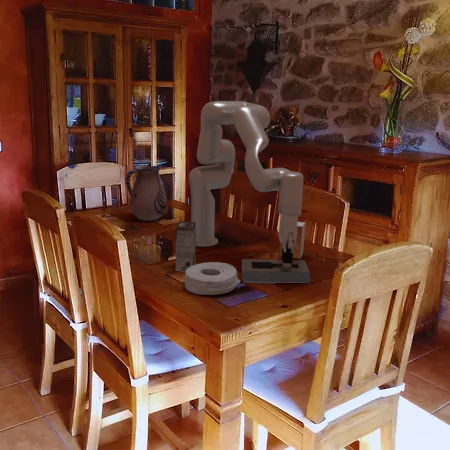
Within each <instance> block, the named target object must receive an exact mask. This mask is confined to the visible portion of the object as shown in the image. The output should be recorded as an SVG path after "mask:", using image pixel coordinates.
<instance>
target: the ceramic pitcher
mask: <svg viewBox="0 0 450 450" xmlns="http://www.w3.org/2000/svg"><path fill="white" fill-rule="evenodd" d="M160 169H161V168H160V166H158V165H152V166H149V165H147V164H146V165H137V166H134V167H133V168H132V169H130V170H129V171H127V174H126V176H125V184H126V188H127V191H128V194H129V195H130V197H129V209H130V212H131V213H132V215H133V216H134V217H135V218H136V219H137V220H139V221H143V222H150V221H157V220H159V219H160V218H161V217H163V215H164V214H165V212H166V211H167V207H168V205H167V204H168V199H167V195H166V190H165V187H164V183H163V180H162V179H161V176H160ZM134 174H136V177H135V179H134V182H133V186H132V184H131V178H132V175H134Z"/></svg>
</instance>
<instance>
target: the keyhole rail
mask: <svg viewBox="0 0 450 450" xmlns="http://www.w3.org/2000/svg"><path fill="white" fill-rule="evenodd" d="M282 266H283V260H282V259H259V258H258V259H257V258H256V259H253V258H252V259H251V258H242V260H241V274H242V283H243V284H275V283H309V284H310V281H311V280H310V278H311V271H310V270H309V267H308V265H307V263H306V261H305V260H300V259H299V260H298V259H293V260H292V264H291V268H282Z"/></svg>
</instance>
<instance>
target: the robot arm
mask: <svg viewBox="0 0 450 450" xmlns="http://www.w3.org/2000/svg"><path fill="white" fill-rule="evenodd" d="M270 122H271V115H270V112H269V111H268V109H267V108H266V106H264V105H260V104H256V103H253V102H252V103H251V102H248V101H241V100H236V101H235V100H230V101H229V100H217V101H210V102H208V103H206V104H205V105H204V106H203V107H202V109H201V113H200V131H199V139H198V144H197V150H196V159H197V161H198V163H199V164H201V165H203V166H196V167H194V168H193V169H192V170H190V172H189V175H188V183H189V189H190V201H191V203H190V204H191V205H190V207H191V209H190V210H191V211H190V212H191V213H190V220H191V221H190V222H196V225H195V227H196V228H195V229H196V231H195V247H198V248H199V247H200V248H205V247H212V246H216V245H217V244H218V242H219V239H218V238H216V237H215V214H216V213H215V212H216V203H215V202H216V200H215V198H214V195H213V194H212V191H211V190H215V189H223V188H225V187H227V186H228V185H230V181H231V179H232V174H233V169H234V165H235V159H236V148H235V145H234V144H233V142H232V141H231V140H230V139H229V140H228V139H225V138H223V128H222V126H223V125H234V127H235V129H236V132H237V133H238V135H239V137H240V139H241V142H242V143H243V146H244V147H245V149H246V152H245V156H244V170H245V172H246V175H247V177H248V179H249V182H250V183H251V185H252V186H253V188H254V189H255V190H256V191H258V192H259V193H268V192H274V191H279V198H278V199H279V200H278V214H279V215H280V217H279V218H280V219H279V228H278V229H279V230H278V239H279V242H280V245H281V244H283V248H282V256H281V260H283V263H286V264H292V260H294V258H293V244H296V238H297V222H299V221H298V220H299V219H298V218H299V216H301V215H302V207H303V206H302V205H303V204H302V203H303V193H304V191H303V190H304V174H303V173H301V172H298V171H291V170H289V169H287V168H285V167H274V168H263V166H262V165H261V163H260V160H259V153H260V152H262V151H264V149H265V148H266V147H267V146H268V145H269V142H270V139H269V137H268V135H267V133H266V131H265V129H266V128H267V127H268V126H269V125H270ZM286 242H288V243H286ZM284 244H285V245H284ZM286 245H288V246H287V247H286ZM283 250H284V252H283Z"/></svg>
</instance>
